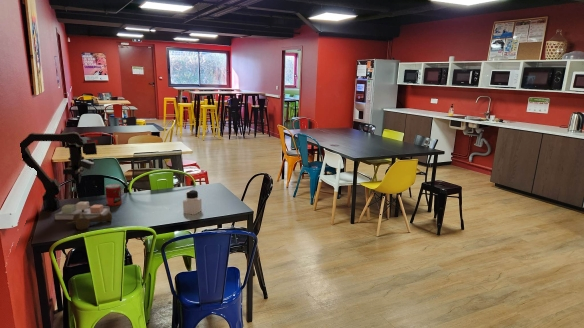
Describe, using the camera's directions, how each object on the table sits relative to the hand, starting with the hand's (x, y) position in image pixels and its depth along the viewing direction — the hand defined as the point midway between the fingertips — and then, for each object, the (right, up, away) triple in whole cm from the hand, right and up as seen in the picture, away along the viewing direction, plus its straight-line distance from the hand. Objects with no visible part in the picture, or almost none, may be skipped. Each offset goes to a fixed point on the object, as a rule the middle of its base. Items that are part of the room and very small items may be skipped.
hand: (78, 183), depth 208 cm
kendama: (+18, -20, -23) cm, 35 cm away
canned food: (+16, -12, +7) cm, 22 cm away
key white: (+9, -12, -12) cm, 19 cm away
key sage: (+2, -14, -12) cm, 18 cm away
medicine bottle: (+63, -16, -1) cm, 65 cm away
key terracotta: (+16, -14, -11) cm, 24 cm away
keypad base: (+9, -16, -11) cm, 21 cm away
